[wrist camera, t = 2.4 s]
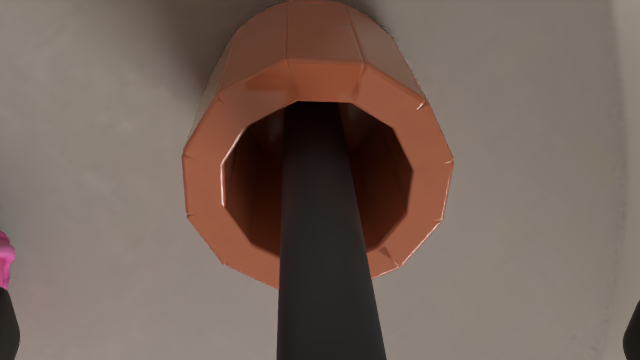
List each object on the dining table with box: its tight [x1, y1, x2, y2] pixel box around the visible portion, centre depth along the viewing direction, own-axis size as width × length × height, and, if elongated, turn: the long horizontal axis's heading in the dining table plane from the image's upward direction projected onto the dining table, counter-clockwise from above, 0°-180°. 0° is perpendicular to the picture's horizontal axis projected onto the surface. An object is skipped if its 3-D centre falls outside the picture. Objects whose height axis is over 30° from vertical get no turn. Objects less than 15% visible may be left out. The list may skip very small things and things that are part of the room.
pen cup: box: [182, 0, 454, 289], centre depth 13 cm, size 5×5×5 cm
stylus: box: [277, 101, 387, 360], centre depth 10 cm, size 1×1×10 cm
